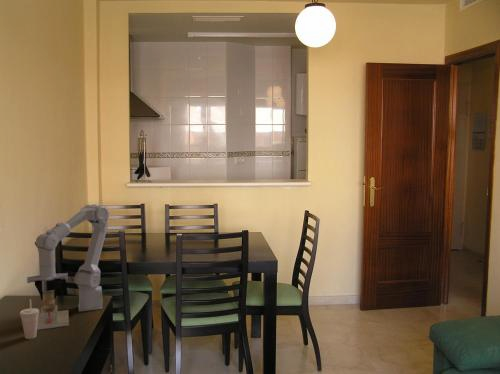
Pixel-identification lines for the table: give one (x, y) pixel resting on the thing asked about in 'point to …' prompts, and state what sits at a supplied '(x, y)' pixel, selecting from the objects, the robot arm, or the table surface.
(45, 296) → the post
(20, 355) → the table surface
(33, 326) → the smoothie
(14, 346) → the table surface
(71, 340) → the table surface
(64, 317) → the jack base
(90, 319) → the table surface
